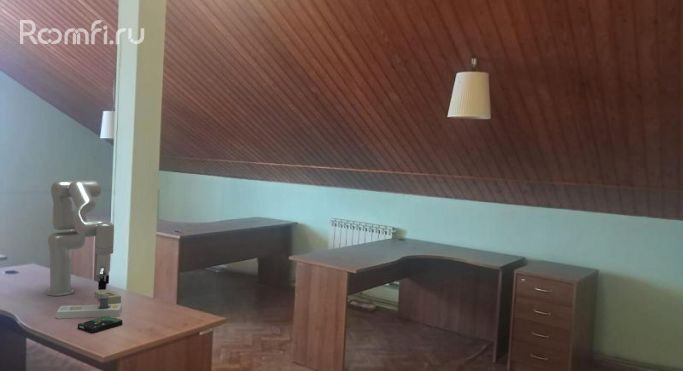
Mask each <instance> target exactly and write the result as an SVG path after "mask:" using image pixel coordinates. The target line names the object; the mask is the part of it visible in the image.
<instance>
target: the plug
mask: <svg viewBox="0 0 683 371" xmlns="http://www.w3.org/2000/svg"><path fill="white" fill-rule="evenodd" d="M108 298H109V295H107V294H103V295H100V300H99V304H100V309H108Z"/></svg>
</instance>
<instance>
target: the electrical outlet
mask: <svg viewBox="0 0 683 371" xmlns="http://www.w3.org/2000/svg"><path fill="white" fill-rule="evenodd" d="M103 294H107V295H109V298H108V304H122V295H120V294H118V292H116V291H114V290H111V289H105V290H95V291H94V298H96V299H97V300H98V301H100V295H103Z"/></svg>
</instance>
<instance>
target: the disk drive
mask: <svg viewBox="0 0 683 371" xmlns="http://www.w3.org/2000/svg"><path fill="white" fill-rule="evenodd" d="M119 326H123V320H122V319H120V318H116V317H109V316H107V317H97V318H96V319H91V320H88V321H85V322H80V323H78V324H77V330H80V331H82V332H85V333H89V334H92V335H94V334H95V333H97V334H98V333H99V332H103V331H107V330H111V329H114V328H118V327H119Z"/></svg>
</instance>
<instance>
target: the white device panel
mask: <svg viewBox="0 0 683 371" xmlns="http://www.w3.org/2000/svg"><path fill="white" fill-rule="evenodd" d="M122 306H123V305H122V303H117V304H108V309H100V303H99V304H76V305H75V304H73V305H60V307H59V308H58V309H57V311H56V318H55V319H58V320H59V319H85V318H102V317H107V316H109V317H112V318H114V317H120V315H121V312H122V309H123V308H122Z"/></svg>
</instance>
